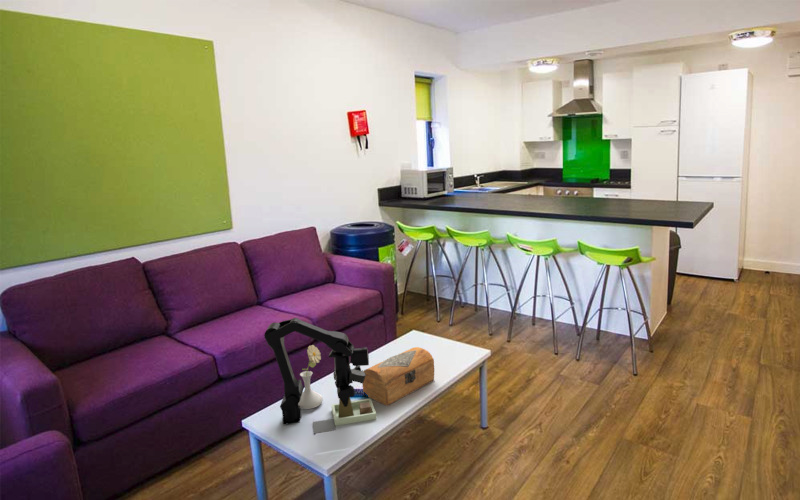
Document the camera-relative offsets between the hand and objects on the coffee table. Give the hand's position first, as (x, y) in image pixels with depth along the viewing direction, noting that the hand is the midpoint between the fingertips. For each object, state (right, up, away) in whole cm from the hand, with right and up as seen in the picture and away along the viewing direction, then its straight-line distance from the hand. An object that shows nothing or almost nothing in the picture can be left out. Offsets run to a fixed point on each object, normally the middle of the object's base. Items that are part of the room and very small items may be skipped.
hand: (345, 403), depth 196 cm
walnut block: (+8, -5, +1) cm, 9 cm away
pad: (-7, -7, -5) cm, 12 cm away
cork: (0, -5, +1) cm, 5 cm away
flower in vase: (-15, -4, +12) cm, 20 cm away
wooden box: (+22, 0, +22) cm, 31 cm away
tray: (+3, -5, +2) cm, 6 cm away
